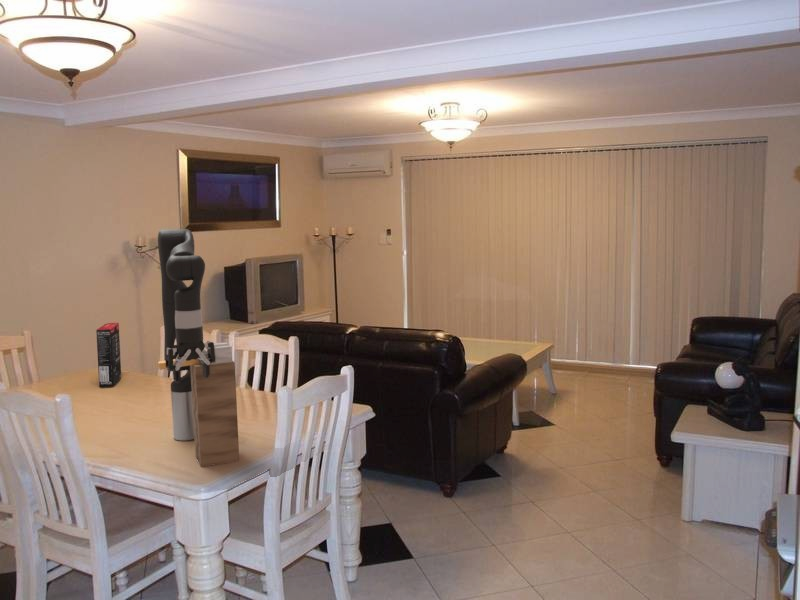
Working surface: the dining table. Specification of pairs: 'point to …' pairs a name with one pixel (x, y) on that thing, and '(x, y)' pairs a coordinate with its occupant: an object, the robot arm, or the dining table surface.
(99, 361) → the graphics card box
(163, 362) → the block
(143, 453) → the dining table surface
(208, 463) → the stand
